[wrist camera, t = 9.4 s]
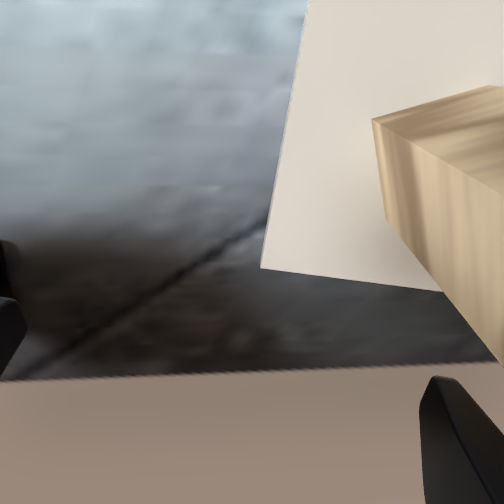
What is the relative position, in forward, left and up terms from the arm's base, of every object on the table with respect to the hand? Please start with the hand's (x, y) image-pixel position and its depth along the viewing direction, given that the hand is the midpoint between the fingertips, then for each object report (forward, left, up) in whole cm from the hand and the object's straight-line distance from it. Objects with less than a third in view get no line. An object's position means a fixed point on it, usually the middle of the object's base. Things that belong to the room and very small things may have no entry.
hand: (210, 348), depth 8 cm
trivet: (+9, +3, -13) cm, 16 cm away
